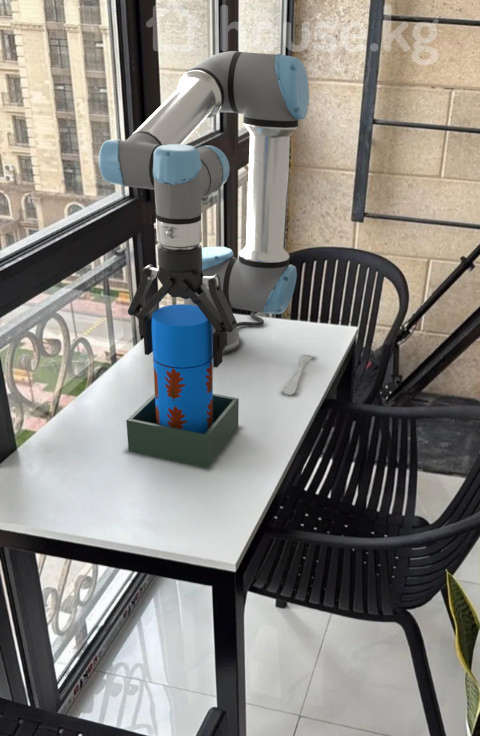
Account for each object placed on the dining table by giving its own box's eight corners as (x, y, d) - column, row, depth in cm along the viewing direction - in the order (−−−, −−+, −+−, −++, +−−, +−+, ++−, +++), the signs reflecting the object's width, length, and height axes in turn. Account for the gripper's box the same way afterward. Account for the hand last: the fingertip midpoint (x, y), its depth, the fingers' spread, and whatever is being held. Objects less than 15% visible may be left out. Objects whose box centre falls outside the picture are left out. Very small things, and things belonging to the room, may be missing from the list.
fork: (282, 402, 168) (282, 392, 166) (303, 356, 184) (303, 346, 182) (294, 404, 167) (294, 394, 166) (314, 358, 183) (315, 348, 182)
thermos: (203, 454, 142) (201, 330, 129) (148, 445, 144) (141, 322, 130) (219, 426, 151) (219, 308, 138) (168, 418, 153) (163, 301, 140)
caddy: (165, 413, 156) (164, 384, 153) (238, 428, 153) (238, 398, 149) (128, 451, 143) (126, 420, 139) (207, 468, 139) (206, 436, 136)
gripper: (102, 240, 127) (112, 354, 139) (240, 260, 122) (239, 378, 133) (123, 228, 134) (131, 339, 145) (256, 247, 128) (254, 361, 139)
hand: (183, 358), depth 139 cm, fingers open, 13 cm apart
